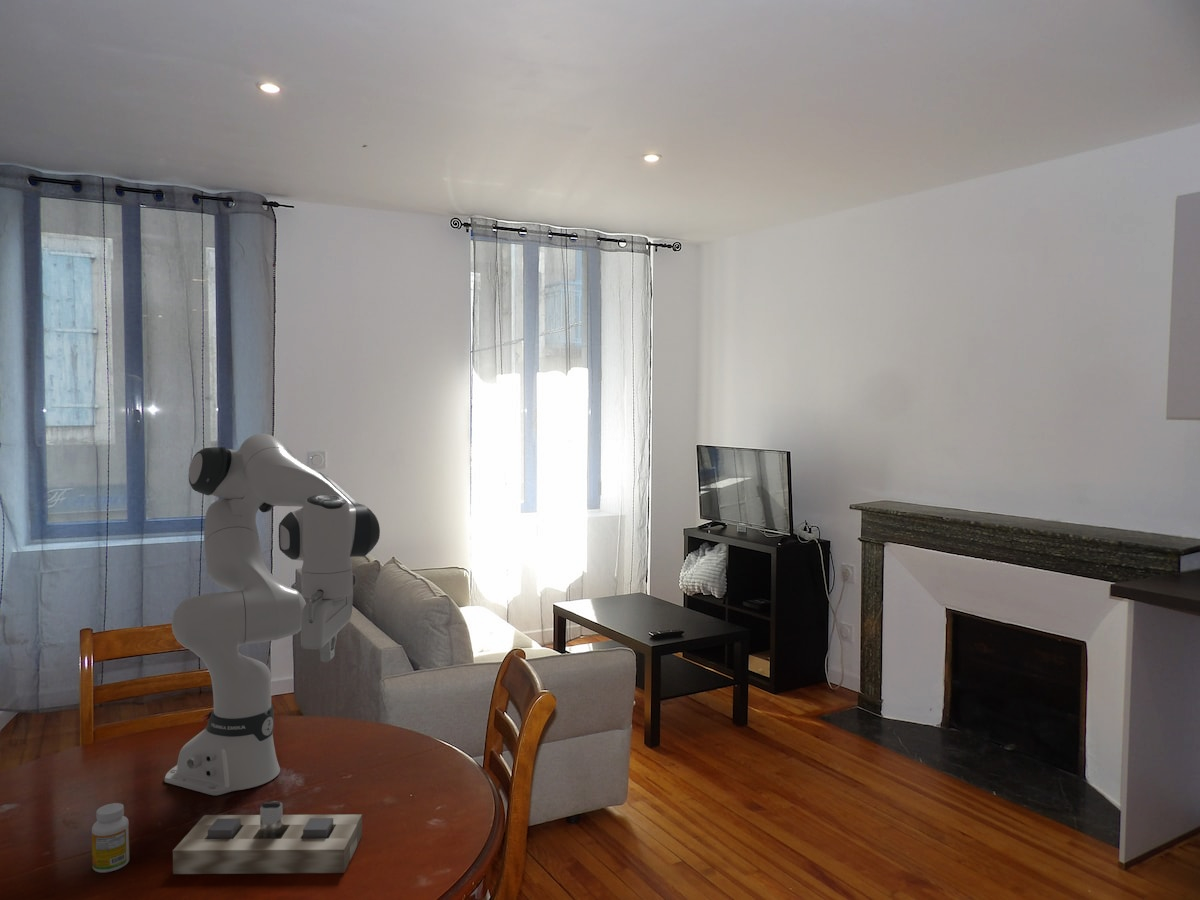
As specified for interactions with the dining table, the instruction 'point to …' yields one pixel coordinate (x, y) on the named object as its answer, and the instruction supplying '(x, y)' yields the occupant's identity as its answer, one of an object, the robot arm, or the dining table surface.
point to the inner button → (224, 829)
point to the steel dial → (271, 820)
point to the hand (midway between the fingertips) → (327, 659)
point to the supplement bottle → (110, 838)
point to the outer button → (318, 828)
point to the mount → (268, 847)
